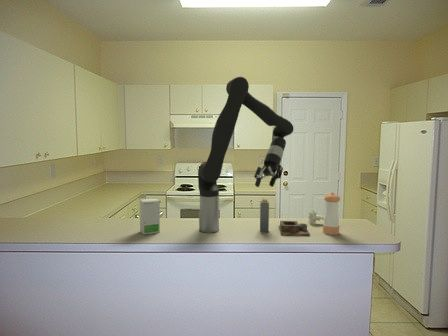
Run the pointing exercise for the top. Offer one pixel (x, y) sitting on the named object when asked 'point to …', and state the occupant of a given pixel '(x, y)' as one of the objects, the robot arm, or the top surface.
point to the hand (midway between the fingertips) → (263, 186)
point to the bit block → (293, 228)
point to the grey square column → (264, 216)
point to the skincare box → (149, 216)
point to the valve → (314, 217)
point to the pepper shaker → (331, 215)
